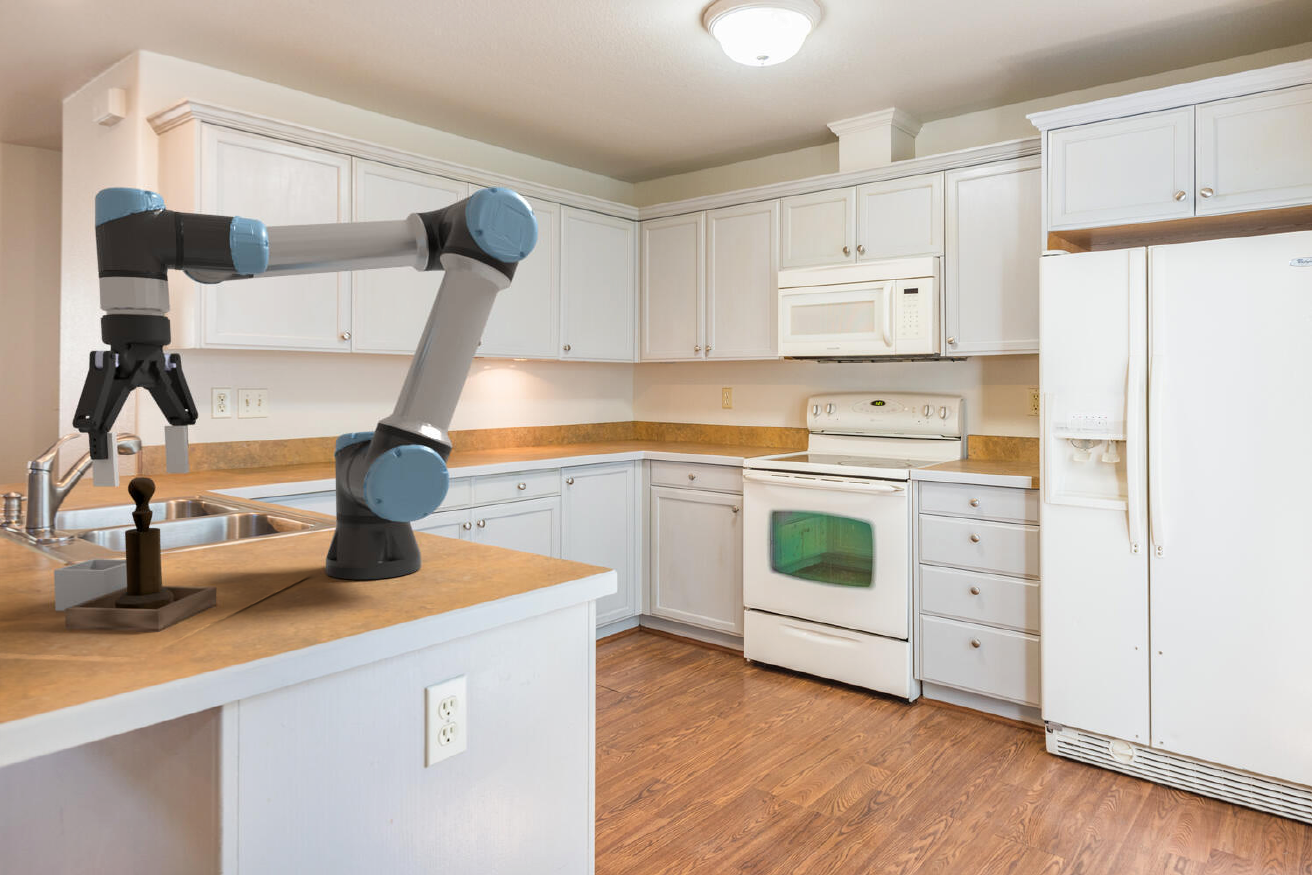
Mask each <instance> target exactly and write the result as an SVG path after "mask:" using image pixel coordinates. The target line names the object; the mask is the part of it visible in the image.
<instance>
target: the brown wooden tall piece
mask: <svg viewBox="0 0 1312 875" xmlns="http://www.w3.org/2000/svg"><path fill="white" fill-rule="evenodd" d="M127 491H128V494H129V496H130V497H131V499H132V500H133V502H134V503H135V510H134V511H132V512H131V515H132V520H133V522H134V525H135V528H132V529H127V530H125V531H124V540H125V544H124V545H125V560H126V573H127V592H124V593H123V594H122V595H121V596H120V597H119V598H117V599H116V600H115V608H122V609H159V608H161V607H163V606H166V605H168V604H171V603H173V602H174V595H173V593H172V592H170V591H169V590H168V589H166V588H162V586H163V576H162V572H163V571H162V553H161V547H162V546H161V529H160V528H158V527H151V522H152V519H153V513H154V512H153V510H151V509H150V505H149V504H150V501H151V499H152V497H153V496H154V494H155V492H156V484H155V482H154V480H153V479H151V478H149V477H145V476H142V477H141V476H139V477H135V478H132V479H131V480H130V481H129V483H128V486H127Z"/></svg>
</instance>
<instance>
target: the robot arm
mask: <svg viewBox="0 0 1312 875" xmlns="http://www.w3.org/2000/svg"><path fill="white" fill-rule="evenodd" d="M94 230H95V233H94V234H95V242H96V245H95V246H96V247H95V248H96V258H97V272H98V283H99V284H98V285H99V306H100V310H102V311H104V312H106V314H103V315H102V316H101V317H100V328H101V329H100V330H101V342H102V343H103V344H104V345H108V346H110V350H91V351H90V352H89V359H88V360H89V362H88V364H89V365H88V372H87V375H86V378H85V380H84V385H83V388H82V390H81V394H80V397H79V400H78V404H77V406H76V409H75V413H74V415H73V419H72V424H71V425H72V427H73V428H74V429H78V432H79V433H80V434H88V446H89V457H90V460H91V463H92V464H91V465H92V482H93V483H92V484H93V487H97V488H99V487H102V488H103V487H105V488H106V487H107V488H108V487H109V488H111V487H112V488H113V487H119V486H120V475H119V474H120V471H119V456H118V455H119V454H118V440H117V439H118V438H117V432H110V431H111V430H112V428H113V427H114V424H115V422H116V421H117V418H118V417H119V415H120V413H121V411H122V409H123V407H124V405H125V403H126V401H127V399H128V397H129V395H131V392H132V391H134V390H136V389H137V388H143V389H144V390H147V391H148V392H149V394H150V396H151V397H152V399H153V400H154V402H155V404H156V405H157V406H158V408H159V410H160V412H161V413H162V415H163V416H164V418H165V419H166V421H167V422H168V424H169V425H164V442H165V444H164V445H165V462H166V464H165V466H166V474H189V473H190V464H189V461H190V460H189V431H188V430H189V429H188V426H195V425H196V423H197V420H198V419H199V412H198V409H197V406H196V404H195V401H194V399H193V396H192V393H191V390H190V388H189V385H188V383H187V382H188V381H187V379H186V377H185V374H184V371H183V367H182V359H181V355H180V353H177V352H175V353H172V352H171V353H169V352H168V353H164V346H165V347H166V346H169V345H170V344H171V342H172V336H171V334H172V333H171V332H172V330H171V319H169V317H168V316H166V314H168V313H169V312H170V311H171V305H170V291H169V278H168V277H169V276H168V270H174V271H182V272H183V273H184V275H185V276H186V277H187V278H189V279H191V280H192V281H194V282H196V283H199V284H203V285H217V284H220V283H222V282H227V281H228V282H229V281H237V280H238V281H241V280H248V279H249V280H250V279H261V278H272V277H274V278H275V277H287V276H299V275H300V276H301V275H311V274H326V273H339V272H351V271H353V272H354V271H365V270H367V271H368V270H378V269H391V268H393V269H394V268H402V267H403V268H405V267H412V268H413V269H415V271H417V272H421V273H422V272H431V271H433V272H435V271H443V272H444V275H443V276H442V280H441V283H440V285H439V288H438V291H437V293H436V297H435V299H434V301H433V304H432V306H431V310H430V312H429V315H428V318H427V320H426V323H425V326H424V329H423V331H422V333H421V336H420V339H419V341H418V345H417V348H416V350H415V352H414V354H413V358H412V361H411V363H410V366H409V369H408V371H407V374H406V377H405V379H404V381H403V385H402V387H401V389H400V392H399V394H398V395H399V396H398V398H397V401H396V404H395V407H394V408H393V412H392V414H390V415H389V416H387V417H384V418H382V419H380V420H379V421H378V422H377V424H376V428H375V430H373V431H359V432H347V433H343V434H341V435H339V436H338V437H336V441H335V447H334V452H333V456H334V460H335V462H334V463H335V464H334V465H335V469H334V470H335V508H336V510H335V513H336V514H335V515H336V516H335V517H336V524H335V529H334V532H333V536H332V539H331V541H330V542H331V543H330V545H329V548H328V551H327V554H326V557H325V574H326V575H328V576H329V577H333V578H336V579H344V580H378V579H388V578H395V577H400V576H405V575H410V574H412V573H415V572H417V571H419V570H420V569H421V568H422V554H421V553H422V552H421V551H420V548H419V545H418V542H417V540H416V536H415V534H414V530H413V528H412V527H413V526H412V524H411V523H412V522H416V521H420V520H423V519H425V518H427V517H428V516H430V515H431V514H433V513H434V512H435V511H437V509H439V507H440V506H441V505H442V504H443V502H444V500H445V498H446V497H447V494H448V491H449V488H450V487H449V486H450V473H449V469H448V467H447V464H448V461H449V458H450V454H451V452H452V449H453V444H452V441H451V439H450V438H449V434H448V431H449V428H450V426H451V423H452V419H453V418H454V415H455V411H456V408H457V406H458V404H459V403H458V402H459V401H460V398H461V395H462V392H463V389H464V386H465V383H466V380H467V378H468V375H469V372H470V370H471V367H472V365H473V362H474V358H475V356H476V353H477V350H478V348H479V345H480V343H481V342H480V341H481V340H482V337H483V333H484V331H485V328H486V326H487V322H488V320H489V317H490V314H491V311H492V309H493V305H494V303H495V300H496V297H497V295H498V293H500V292H501V291H503V290H506V289H509V288H510V286H511V284H512V282H513V279H514V277H515V273H516V272H517V271H516V270H517V267H518V266H519V262H520V261H523V260H525V259H527V257H528V256H529V255H530V254H531V253H532V251H533V250H534V248H535V247H536V244H537V241H538V236H539V224H538V220H537V217H536V216H535V213H534V211H533V209H532V207H531V205H530V203H529V202H528V201H527V200H526V199H525V198H524V197H523V196H522V195H520V194H519V193H518V192H516V191H514V190H512V189H510V188H506V187H503V186H493V187H488V188H487V187H486V188H481V189H478V190H477V191H475V192H474V193H472V195H469V196H468V197H466V198H463V199H461V200H459V201H457V202H455V203H453V204H450V205H448V206H444V207H442V208H439V209H436V210H432V211H425V212H411V213H410V214H409V215H408V216H407V218H405V219H400V220H399V219H398V220H397V219H395V220H393V219H392V220H380V221H377V220H376V221H375V220H374V221H355V222H354V221H353V222H338V223H337V222H336V223H314V224H293V225H275V226H274V225H272V226H266V225H265V224H264V223H263V222H262V221H261V220H258V219H253V218H246V217H241V216H239V215H235V216H231V215H230V216H227V215H218V214H206V213H194V212H193V213H192V212H191V213H190V212H179V211H174V210H172V209H171V210H170V209H167V206H166V205H165V200H164V198H163V197H162V195H161V194H159V193H157V192H154V191H151V190H144V189H140V188H136V187H122V186H121V187H118V186H115V187H108V188H103V189H101V190H99V191H98V193H96V194H95V197H94Z"/></svg>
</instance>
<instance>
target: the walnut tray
mask: <svg viewBox="0 0 1312 875" xmlns="http://www.w3.org/2000/svg"><path fill="white" fill-rule="evenodd" d="M162 588H166V589H168V590H169V591H170V592H172V593H173V595H174V602H173V603H171V604H168V605H166V606H163V607H161V608H159V609H122V608H115V600H116V599H117V598H119V597H120V596H121V595H122V594H123V593H124V592H127V587H126V588H123V589H120V590H117V591H114V592H112V593H109V594H106V595H103V596H100V597H97V598H95V599H92V600H89V601H86V602H83V603H80V604H77V605H75V606H72V607H69V608H66V609H65V611H64V616H65V630H79V631H81V630H82V631H83V630H85V631H86V630H87V631H92V630H93V631H116V632H117V631H120V632H124V631H125V632H150V633H151V632H157V633H158V632H161V631H163V630H166V629H168V628H170V627H172V626H175V625H177V624H179V623H181V622H183V621H186V620H188V619H190V618H193V617H194V616H197V615H199V614H201V613H203V612H206V611H208V610H209V609H212V608H214V607H216V606H217V605H218V604H217V587H215V586H213V587H212V586H185V585H184V586H181V585H180V586H176V585H174V586H173V585H162Z"/></svg>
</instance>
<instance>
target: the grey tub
mask: <svg viewBox="0 0 1312 875" xmlns="http://www.w3.org/2000/svg"><path fill="white" fill-rule="evenodd" d="M53 574H54V577H53V578H54V580H53V581H54V599H55V600H54V603H55V608H54V609H55V611H56V612H65V609H66V608H69V607H72V606H75V605H77V604H80V603H83V602H86V601H89V600H92V599H95V598H97V597H100V596H103V595H106V594H109V593H112V592H114V591H117V590H120V589H123V588H126V587H127V573H126V559H123V558H122V559H117V558H116V559H115V558H114V559H113V558H91V559H88V560H84V561H81V562H77V563H74V564H71V565H70V564H69V565H66V566H63V567H60V568H56V569H54V570H53Z"/></svg>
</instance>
